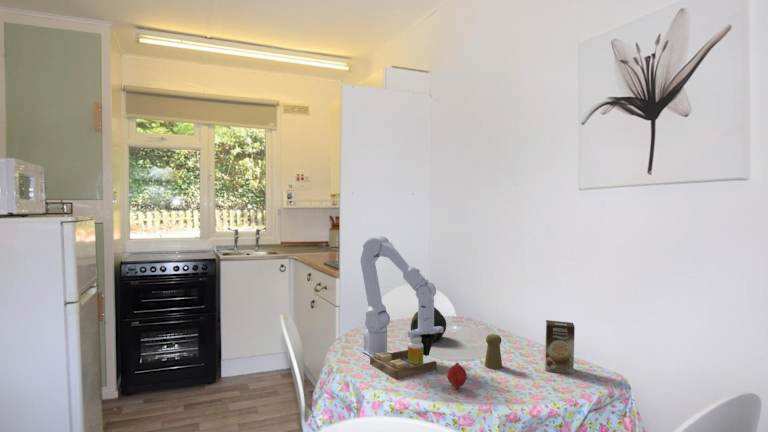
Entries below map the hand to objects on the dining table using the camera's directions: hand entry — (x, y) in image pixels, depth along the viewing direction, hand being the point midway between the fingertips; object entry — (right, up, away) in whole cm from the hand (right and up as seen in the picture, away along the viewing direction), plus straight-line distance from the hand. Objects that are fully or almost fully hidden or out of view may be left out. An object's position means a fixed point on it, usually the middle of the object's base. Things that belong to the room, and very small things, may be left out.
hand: (425, 354), depth 159 cm
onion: (+7, -3, -24) cm, 25 cm away
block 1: (-15, -3, -4) cm, 16 cm away
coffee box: (+45, -3, -7) cm, 46 cm away
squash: (+4, -2, +29) cm, 29 cm away
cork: (+23, -3, -4) cm, 24 cm away
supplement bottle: (-4, -3, -3) cm, 6 cm away
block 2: (-10, -3, -12) cm, 16 cm away
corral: (-8, -2, -5) cm, 10 cm away
